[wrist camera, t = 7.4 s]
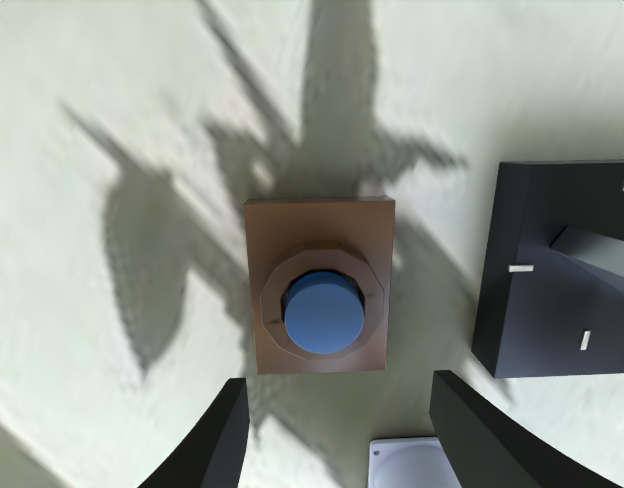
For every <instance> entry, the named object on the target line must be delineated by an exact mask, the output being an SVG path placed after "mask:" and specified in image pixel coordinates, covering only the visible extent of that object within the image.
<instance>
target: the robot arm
mask: <svg viewBox="0 0 624 488" xmlns="http://www.w3.org/2000/svg"><path fill="white" fill-rule="evenodd" d="M429 415H430V418H431V421H432V423H433V426H434V429H435V432H436V434H437V437H424V438H403V439H381V440H373V441H372V442H371V443H370V453H369V474H368V488H623V487H621V486H619V485H617V484H615V483H613V482H612V481H610V480H608V479H606V478H604V477H602V476H601V475H599V474H597V473H595V472H593V471H592V470H590V469H588V468H586V467H585V466H583V465H581V464H579V463H578V462H576V461H574V460H573V459H571V458H569V457H568V456H566V455H564V454H563V453H561V452H560V451H558V450H556V449H555V448H553V447H552V446H550V445H549V444H547V443H545V442H544V441H542V440H541V439H539V438H538V437H536V436H535V435H533V434H532V433H531V432H529V431H528V430H526V429H525V428H524V427H522V426H521V425H519V424H518V423H517V422H515V421H514V420H512V419H511V418H510V417H508V416H507V415H506V414H504V413H503V412H502V411H500V410H499V409H498V408H497V407H495V406H494V405H493V404H491V403H490V402H489V401H488V400H486V399H485V398H484V397H483V396H481V395H480V394H479V393H478V392H477V391H475V390H474V389H473V388H472V387H470V386H469V385H468V384H467V383H465V382H464V381H463V380H462V379H461V378H459V377H458V376H457V375H456V374H454V373H453V372H452V371H450V370H436V371H434V375H433V383H432V392H431V401H430V409H429ZM249 423H250V419H249V408H248V397H247V386H246V378H229V379H228V380H227V382H226V383H225V385H224V386H223V388H222V389H221V391H220V392H219V394H218V395H217V396H216V398H215V399H214V401H213V402H212V403H211V405H210V406H209V408H208V409H207V410H206V412H205V413H204V414H203V416H202V417H201V418H200V419H199V421H198V422H197V423H196V425H195V426H194V427H193V428H192V430H191V431H190V432H189V433H188V434H187V436H186V437H185V438H184V439H183V440H182V442H181V443H180V444H179V445H178V446H177V447H176V449H175V450H174V451H173V452H172V453H171V454H170V455H169V456H168V457H167V458H166V460H165V461H164V462H163V463H162V464H161V465H160V466H159V467H158V468H157V469H156V470H155V471H154V472H153V473H152V474H151V475H150V476H149V477H148V478H147V479H146V480H145V481H144V482H143V483H142V484H141V485H140V486H138V487H137V488H237V487H238V483H239V479H240V474H241V470H242V466H243V461H244V457H245V452H246V447H247V439H248V431H249Z"/></svg>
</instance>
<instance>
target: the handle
mask: <svg viewBox="0 0 624 488" xmlns="http://www.w3.org/2000/svg"><path fill="white" fill-rule="evenodd" d="M550 248H551V249H552V250H553V251H555V252H557V253H558V254H560V255H562V256H563V257H565V258H566V259H568V260H570V261H571V262H573V263H575V264H576V265H578V266H580V267H581V268H583V269H584V270H586V271H588V272H589V273H591V274H593V275H594V276H596V277H598V278H599V279H601V280H602V281H604V282H606V283H607V284H609V285H611V286H612V287H614V288H616V289H617V290H619V291H620V292H622V293H624V241H621V240H617V239H614V238H611V237H607V236H604V235H600V234H597V233H593V232H590V231H586V230H583V229H579V228H576V227H572V226H567V227H566V228H565V230H564V231H563V232H562V233H561V235H560V236H559V237H558V239H557V240H556V241H555V242H554V244H553V245H552V246H551V247H550Z"/></svg>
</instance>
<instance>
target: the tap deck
mask: <svg viewBox="0 0 624 488" xmlns="http://www.w3.org/2000/svg"><path fill="white" fill-rule="evenodd" d="M567 226H572V227H576V228H579V229H583V230H586V231H590V232H593V233H597V234H600V235H604V236H607V237H611V238H614V239H617V240H621V241H624V159H623V160H574V161H526V162H500V164H499V171H498V177H497V184H496V191H495V197H494V204H493V210H492V217H491V224H490V230H489V237H488V243H487V250H486V257H485V263H484V270H483V277H482V283H481V290H480V296H479V303H478V310H477V316H476V323H475V329H474V336H473V343H472V349H471V352H472V353H473V354H474V355H475V356H476V358H477V359H478V360H479V361H480V362H481V364H482V365H483V366H484V367H485V368H486V370H487V371H488V372H489V373H490V374H491V375H492V377H493V378H495V379H496V378H520V377H544V376H568V375H592V374H616V373H624V293H622V292H620V291H619V290H617V289H616V288H614V287H612V286H611V285H609V284H607V283H606V282H604V281H602V280H601V279H599V278H598V277H596V276H594V275H593V274H591V273H589V272H588V271H586V270H584V269H583V268H581V267H580V266H578V265H576V264H575V263H573V262H571V261H570V260H568V259H566V258H565V257H563V256H562V255H560V254H558V253H557V252H555V251H553V250H552V249H551V248H550V247H551V246H552V245H553V244H554V242H555V241H556V240H557V239H558V237H559V236H560V235H561V233H562V232H563V231H564V230H565V228H566V227H567Z"/></svg>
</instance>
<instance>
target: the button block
mask: <svg viewBox="0 0 624 488" xmlns="http://www.w3.org/2000/svg"><path fill="white" fill-rule="evenodd" d="M243 206H244V218H245V230H246V243H247V255H248V267H249V279H250V291H251V303H252V315H253V328H254V340H255V352H256V364H257V375H268V374H293V373H318V372H343V371H368V370H385V367H386V351H387V334H388V317H389V300H390V283H391V266H392V250H393V233H394V216H395V200H393V199H392V198H390V197H388V196H381V197H338V198H296V199H254V200H247V201H246V202H245V203H244V204H243ZM315 272H332V273H336V274H338V275H341V276H342V277H344V278H346V279H347V280H348V281H349V282H350V283H351V284H352V285H353V286H354V288H355V290H356V292H357V294H358V297H359V299H360V302H361V304H362V307H363V311H364V323H363V327H362V329H361V332H360V334H359V335H358V337H357V338H356V339H355V340H354V341H353V342H352V343H351V344H350V345H349V346H347V347H346V348H344V349H342V350H340V351H337V352H333V353H327V354H319V353H313V352H309V351H307V350H305V349H303V348H301V347H300V346H298V345H297V344H296V343H295V342H294V341H293V340H292V339H291V338H290V336H289V334H288V332H287V330H286V327H285V307H286V299H287V296H288V293H289V291H290V289H291V288H292V286H293V285H294V284H295V283H296V282H297V281H298V280H299V279H301V278H302V277H304V276H306V275H308V274H311V273H315Z"/></svg>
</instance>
